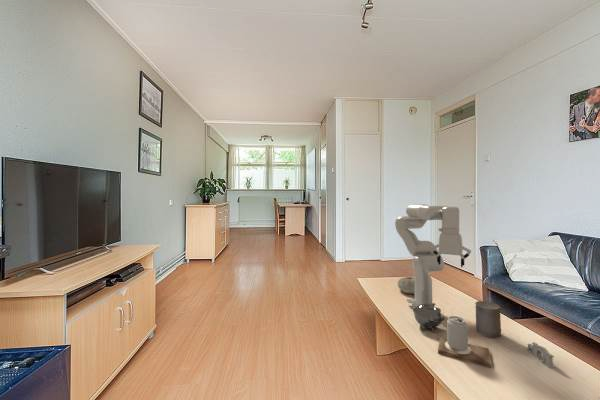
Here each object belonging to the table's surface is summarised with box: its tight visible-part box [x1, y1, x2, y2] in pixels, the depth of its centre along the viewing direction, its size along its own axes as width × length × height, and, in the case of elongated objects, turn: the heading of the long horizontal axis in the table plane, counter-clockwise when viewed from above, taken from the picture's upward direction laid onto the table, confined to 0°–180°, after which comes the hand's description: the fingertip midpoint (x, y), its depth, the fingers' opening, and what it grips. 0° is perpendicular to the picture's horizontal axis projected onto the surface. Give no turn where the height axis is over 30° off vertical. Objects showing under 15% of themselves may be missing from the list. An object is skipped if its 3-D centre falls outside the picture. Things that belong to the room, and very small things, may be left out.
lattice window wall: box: [527, 341, 555, 369], centre depth 102 cm, size 12×2×6 cm, turn 170°
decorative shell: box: [397, 276, 415, 295], centre depth 179 cm, size 18×18×10 cm
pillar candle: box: [475, 300, 502, 339], centre depth 123 cm, size 10×10×15 cm
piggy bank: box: [412, 302, 445, 331], centre depth 129 cm, size 11×15×12 cm
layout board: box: [437, 336, 492, 368], centre depth 107 cm, size 18×12×2 cm, turn 57°
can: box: [446, 315, 469, 351], centre depth 109 cm, size 8×8×12 cm
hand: (450, 265), depth 127 cm, fingers open, 9 cm apart
